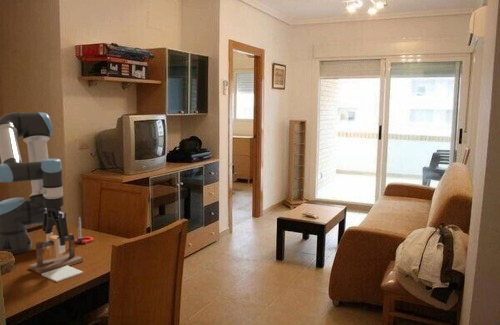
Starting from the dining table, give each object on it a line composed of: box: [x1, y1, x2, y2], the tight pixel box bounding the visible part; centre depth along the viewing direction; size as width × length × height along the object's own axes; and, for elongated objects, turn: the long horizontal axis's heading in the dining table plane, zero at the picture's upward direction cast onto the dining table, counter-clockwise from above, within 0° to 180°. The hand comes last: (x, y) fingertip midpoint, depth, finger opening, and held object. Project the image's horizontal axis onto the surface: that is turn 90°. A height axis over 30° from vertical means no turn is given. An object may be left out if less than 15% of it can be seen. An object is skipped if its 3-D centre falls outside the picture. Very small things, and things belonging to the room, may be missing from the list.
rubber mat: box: [41, 265, 84, 283], centre depth 170 cm, size 11×11×1 cm
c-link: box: [48, 234, 64, 258], centre depth 179 cm, size 5×3×8 cm, turn 54°
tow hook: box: [74, 216, 95, 245], centre depth 210 cm, size 8×13×9 cm
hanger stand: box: [28, 232, 84, 275], centre depth 179 cm, size 10×18×12 cm, turn 144°
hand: (56, 250), depth 179 cm, fingers open, 8 cm apart
